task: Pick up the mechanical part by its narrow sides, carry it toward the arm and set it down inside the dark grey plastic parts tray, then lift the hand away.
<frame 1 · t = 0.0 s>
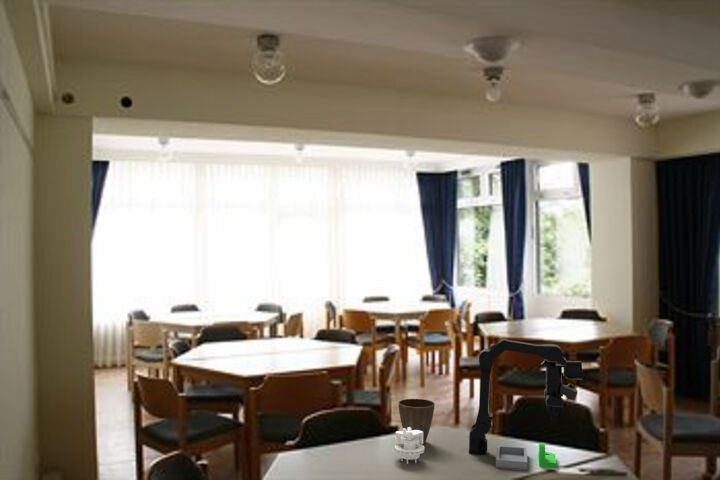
hand: (553, 419, 241), 15 cm above the table, tool pointing down, fingers open, 9 cm apart
mechanical part 2: (409, 461, 237), on the table
parts tray: (511, 461, 237), on the table
plant pot: (416, 442, 259), on the table
mechanical part: (547, 463, 236), on the table
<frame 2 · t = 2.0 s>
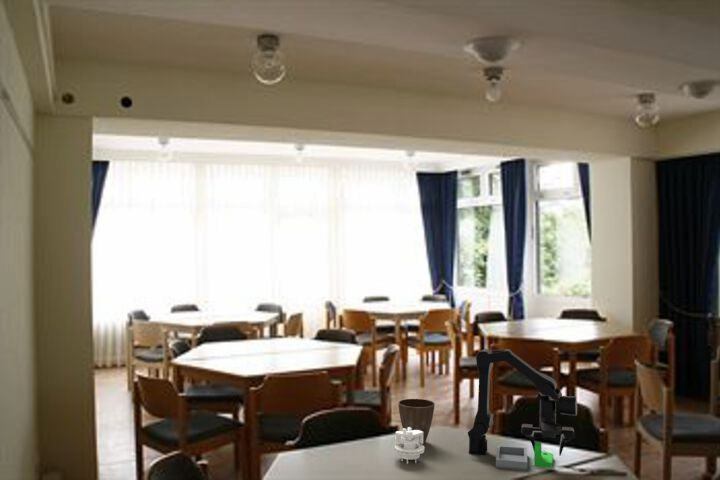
hand: (547, 454, 236), 3 cm above the table, tool pointing down, fingers open, 8 cm apart
mechanical part: (544, 462, 237), on the table, touching gripper
everything else where it was.
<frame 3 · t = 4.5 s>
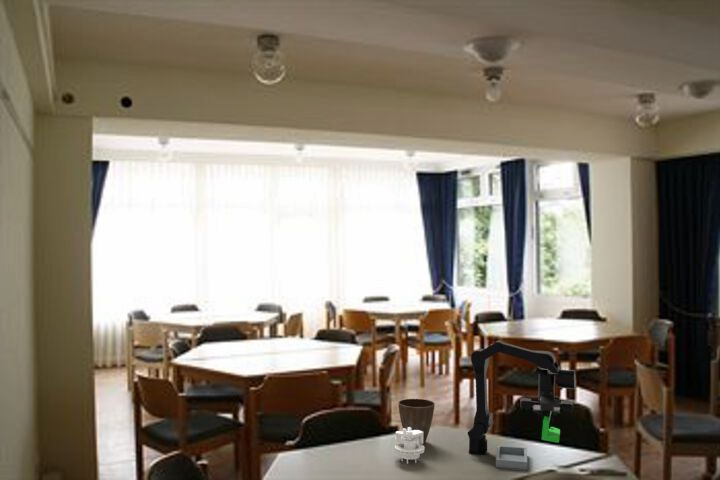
hand: (545, 428, 237), 13 cm above the table, tool pointing down, fingers closed on mechanical part, 2 cm apart
mechanical part: (550, 437, 236), point 9 cm above the table, touching gripper
everything else where it was.
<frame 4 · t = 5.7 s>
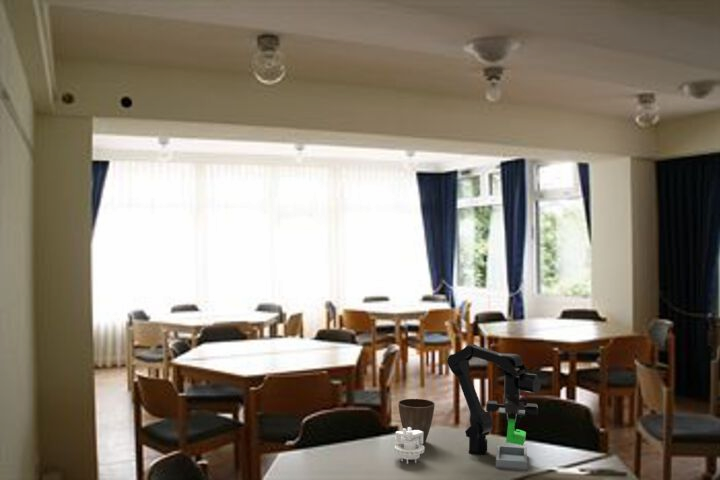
hand: (511, 430, 237), 11 cm above the table, tool pointing down, fingers closed on mechanical part, 2 cm apart
mechanical part: (516, 439, 236), point 8 cm above the table, touching gripper
everything else where it was.
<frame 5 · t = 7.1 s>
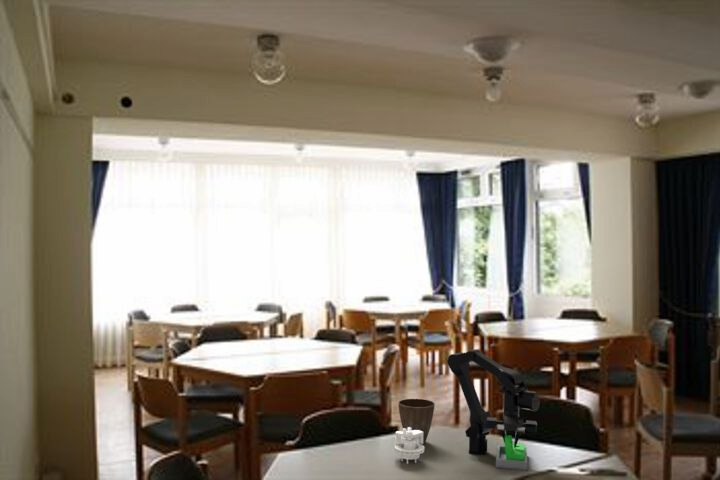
hand: (510, 447, 237), 5 cm above the table, tool pointing down, fingers closed on mechanical part, 3 cm apart
mechanical part: (516, 455, 236), point 3 cm above the table, touching gripper, parts tray
everything else where it was.
when the fingers open (5 cm above the table, at t = 7.7 s): mechanical part stays where it is, resting on parts tray.
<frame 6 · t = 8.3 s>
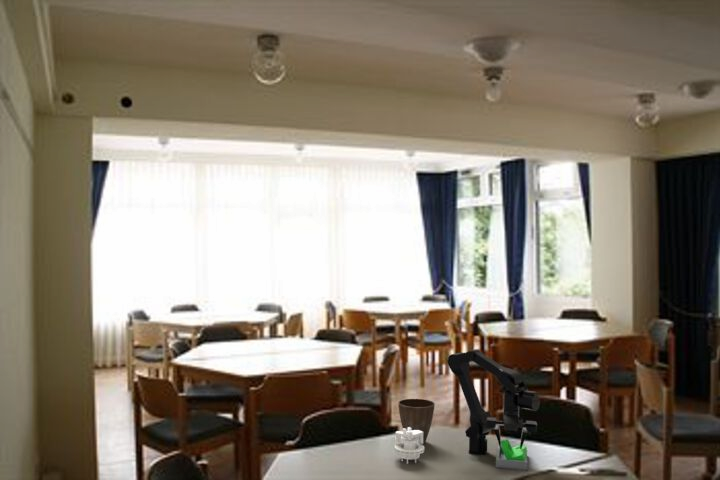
hand: (510, 447, 237), 5 cm above the table, tool pointing down, fingers open, 7 cm apart
mechanical part: (518, 457, 236), point 2 cm above the table, touching gripper, parts tray
everything else where it was.
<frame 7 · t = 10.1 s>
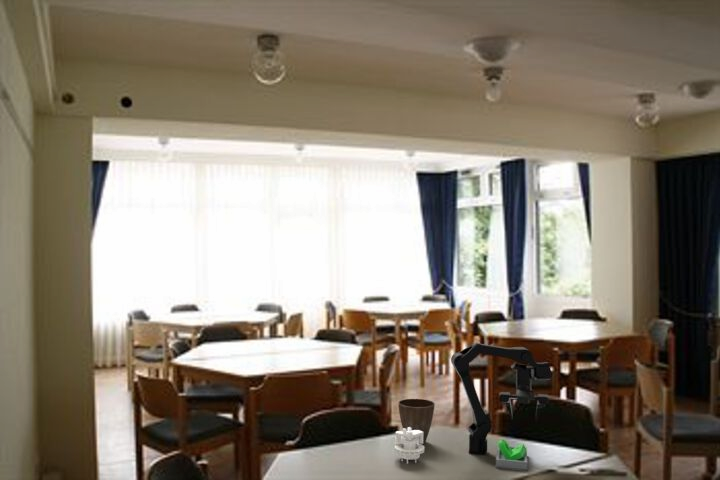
hand: (523, 420, 248), 12 cm above the table, tool pointing down, fingers open, 9 cm apart
mechanical part: (518, 456, 236), point 2 cm above the table, touching parts tray
everything else where it was.
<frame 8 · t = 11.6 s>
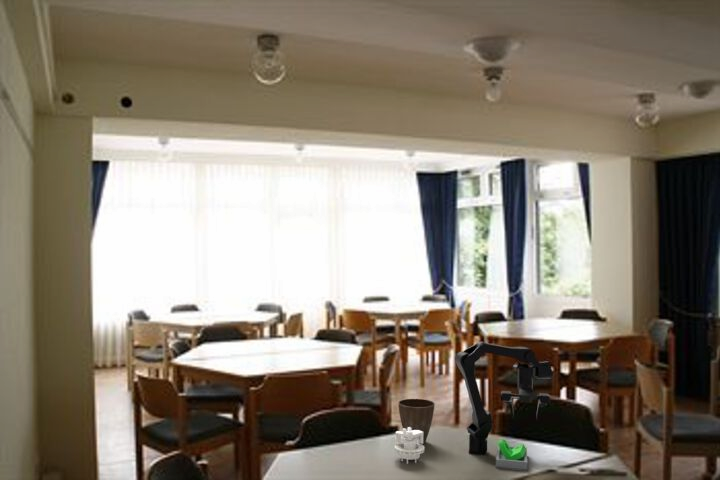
hand: (525, 418, 251), 12 cm above the table, tool pointing down, fingers open, 9 cm apart
nothing on the table moved.
at the end: mechanical part inside the target area on the parts tray (2.6 cm from its centre), point 2.0 cm above the parts tray's base; the gripper is holding nothing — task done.
